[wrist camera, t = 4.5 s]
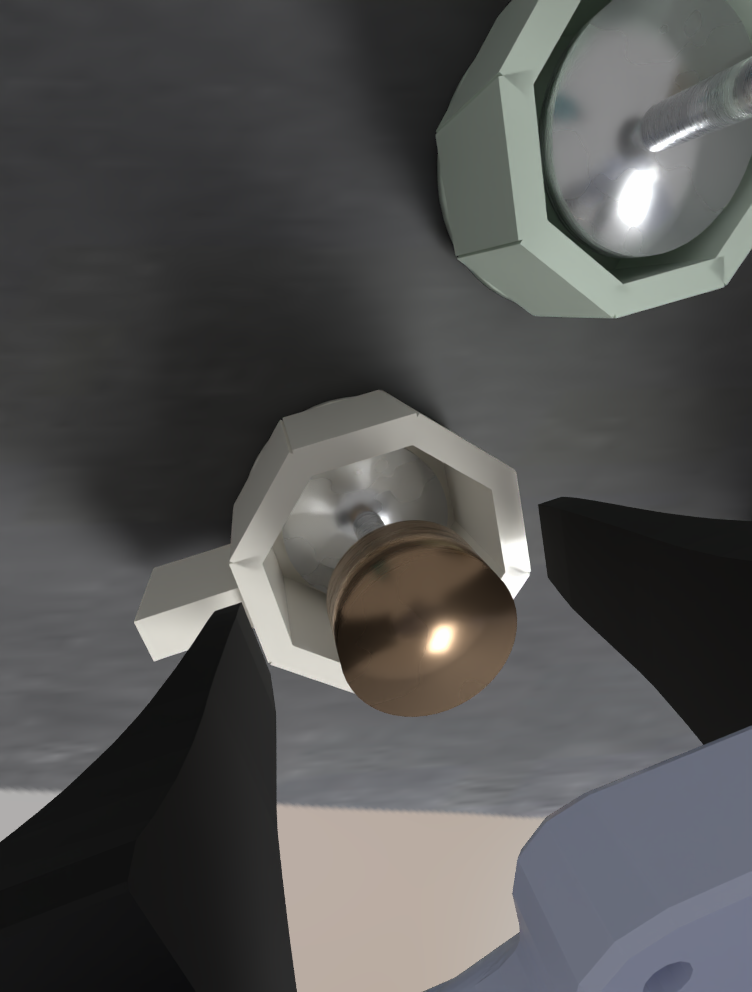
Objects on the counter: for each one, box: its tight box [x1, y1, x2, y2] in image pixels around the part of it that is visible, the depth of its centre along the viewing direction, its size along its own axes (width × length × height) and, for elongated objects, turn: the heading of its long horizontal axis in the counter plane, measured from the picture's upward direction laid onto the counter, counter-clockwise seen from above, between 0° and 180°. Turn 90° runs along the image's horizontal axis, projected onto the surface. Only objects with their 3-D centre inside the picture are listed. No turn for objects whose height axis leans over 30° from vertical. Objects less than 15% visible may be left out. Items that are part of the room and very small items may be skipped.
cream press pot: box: [134, 390, 531, 693], centre depth 15 cm, size 10×7×4 cm
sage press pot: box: [435, 0, 752, 318], centre depth 12 cm, size 10×7×4 cm
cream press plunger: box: [282, 448, 517, 717], centre depth 13 cm, size 5×5×6 cm
